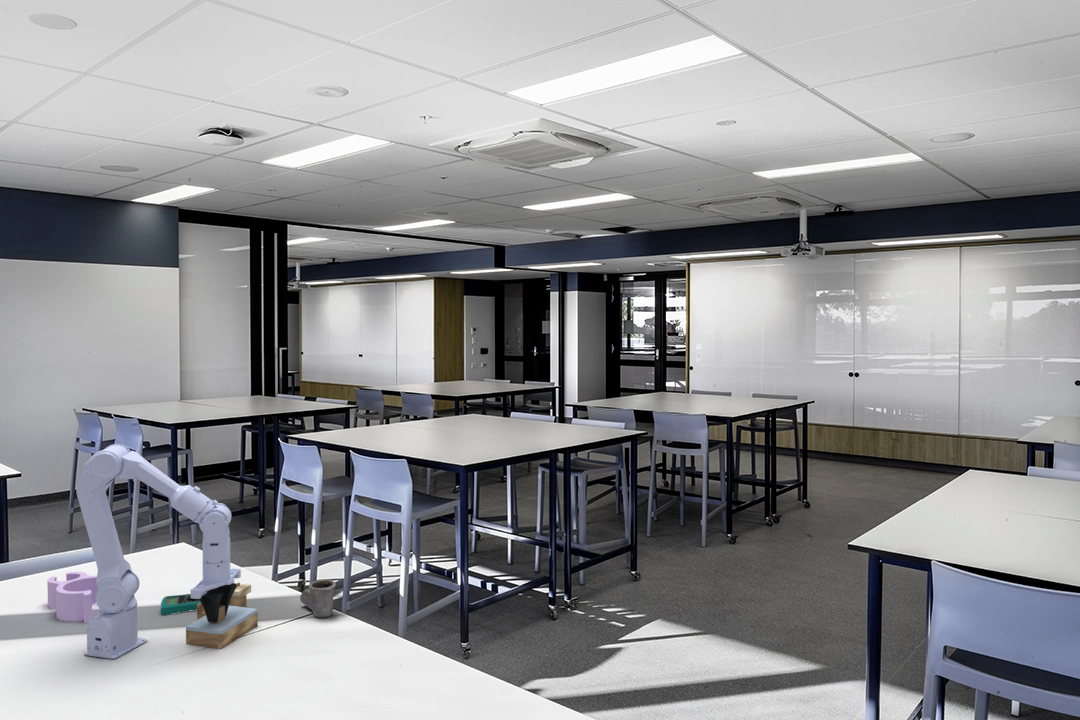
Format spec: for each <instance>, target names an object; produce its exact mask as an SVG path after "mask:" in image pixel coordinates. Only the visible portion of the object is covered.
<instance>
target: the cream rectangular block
mask: <svg viewBox="0 0 1080 720" xmlns="http://www.w3.org/2000/svg"><path fill="white" fill-rule="evenodd" d="M251 592H252V584H248V583H247V584H246V583H242V584H241V583H240V586H238V587H237V588H236V589H235V591H234V593H233V595H232V597H231V598H233V599H240V598H241V597H243V596H245V595H246V596H247V595H248V594H250V593H251Z"/></svg>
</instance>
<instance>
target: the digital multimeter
mask: <svg viewBox="0 0 1080 720" xmlns="http://www.w3.org/2000/svg"><path fill="white" fill-rule="evenodd" d="M199 603H201V602H200V600H199V599H193V598H191V593H186V594H178V595H166V596H164V597H163V598H161V601H160V615H161V616H165V615H164V614H169V615H172V614H171V613H176V614H178V613H177V612H183V611H189V610H196V609H197V604H199ZM183 613H184V612H183Z"/></svg>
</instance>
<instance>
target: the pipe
mask: <svg viewBox="0 0 1080 720" xmlns="http://www.w3.org/2000/svg"><path fill="white" fill-rule="evenodd" d="M336 584H337V583H336V582H335V581H334V580H333V579H319V580H315V581H312V582H311V583H309V585H308V588H306V589H304V590H303V591H302V592H301V594H300V596H299V598H300V599H299V601H300V602H301V604H303V605H305V606H306V607H307V608H309V609H310V610H311V611H312V613H313V616H315V617H317V618H320V619H321V618H322V619H324V618H328V617H330V616H331V615H332V613H333V611H334V597H335V589H336V586H337V585H336ZM332 608H333V609H332Z"/></svg>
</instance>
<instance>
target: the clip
mask: <svg viewBox="0 0 1080 720" xmlns="http://www.w3.org/2000/svg"><path fill="white" fill-rule="evenodd" d="M65 575H66V576H65V579H66V580H62V581H61V580H60V581H59V580H57V576H56V575H55V576H54V575H53V576H50V577H48V578H47V579H46V580H47V586H46V587H47V608H48V607H49V608H51V609H56V610H55V611H56V619H58V620H59V619H61V620H60V621H62V620H64V621H63V622H70V621H73V622H82V621H83V620H84V621H83V623H84V624H88V623H89V621H90V620H91V619H92V618H93V604H92V603H96V595H97V591H98V589H97V584H96V579H97V575H88V574H87V573H86V572H82V571H68V572H66V574H65ZM49 608H48V609H49ZM51 609H50V610H51Z"/></svg>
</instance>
